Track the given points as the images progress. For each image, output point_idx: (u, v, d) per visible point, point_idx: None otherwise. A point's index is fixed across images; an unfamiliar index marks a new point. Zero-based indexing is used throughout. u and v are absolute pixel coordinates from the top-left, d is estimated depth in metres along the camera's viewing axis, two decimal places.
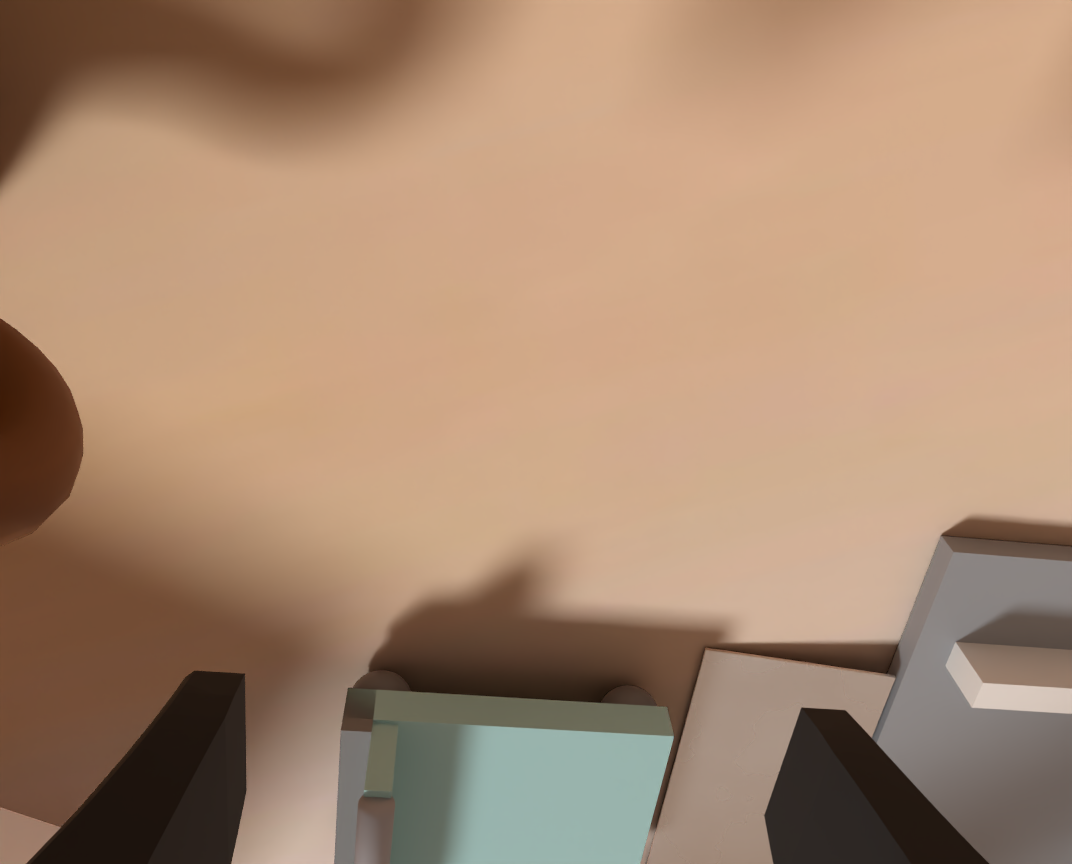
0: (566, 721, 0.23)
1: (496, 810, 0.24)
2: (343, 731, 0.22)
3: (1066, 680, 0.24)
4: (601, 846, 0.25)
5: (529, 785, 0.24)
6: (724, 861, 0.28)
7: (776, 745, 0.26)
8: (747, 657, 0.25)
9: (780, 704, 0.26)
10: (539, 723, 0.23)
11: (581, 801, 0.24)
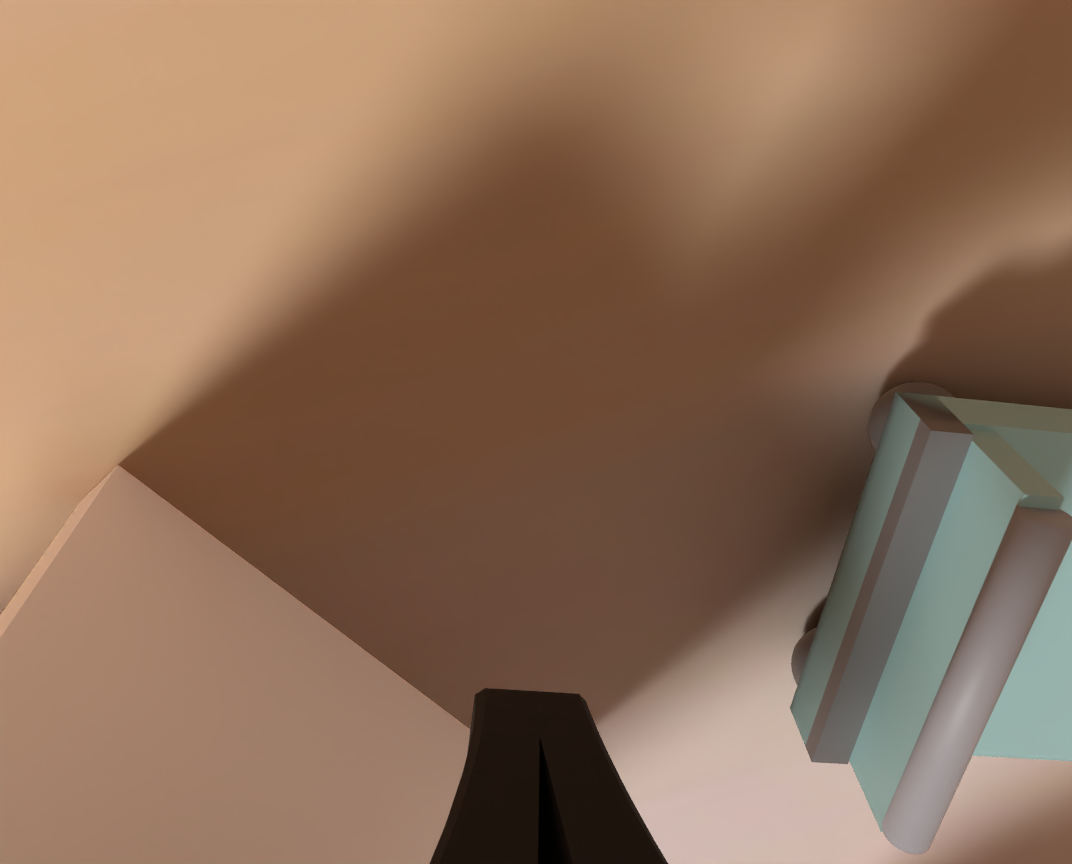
0: None
1: None
2: (933, 432, 0.15)
3: None
4: None
5: None
6: None
7: None
8: None
9: None
10: None
11: None
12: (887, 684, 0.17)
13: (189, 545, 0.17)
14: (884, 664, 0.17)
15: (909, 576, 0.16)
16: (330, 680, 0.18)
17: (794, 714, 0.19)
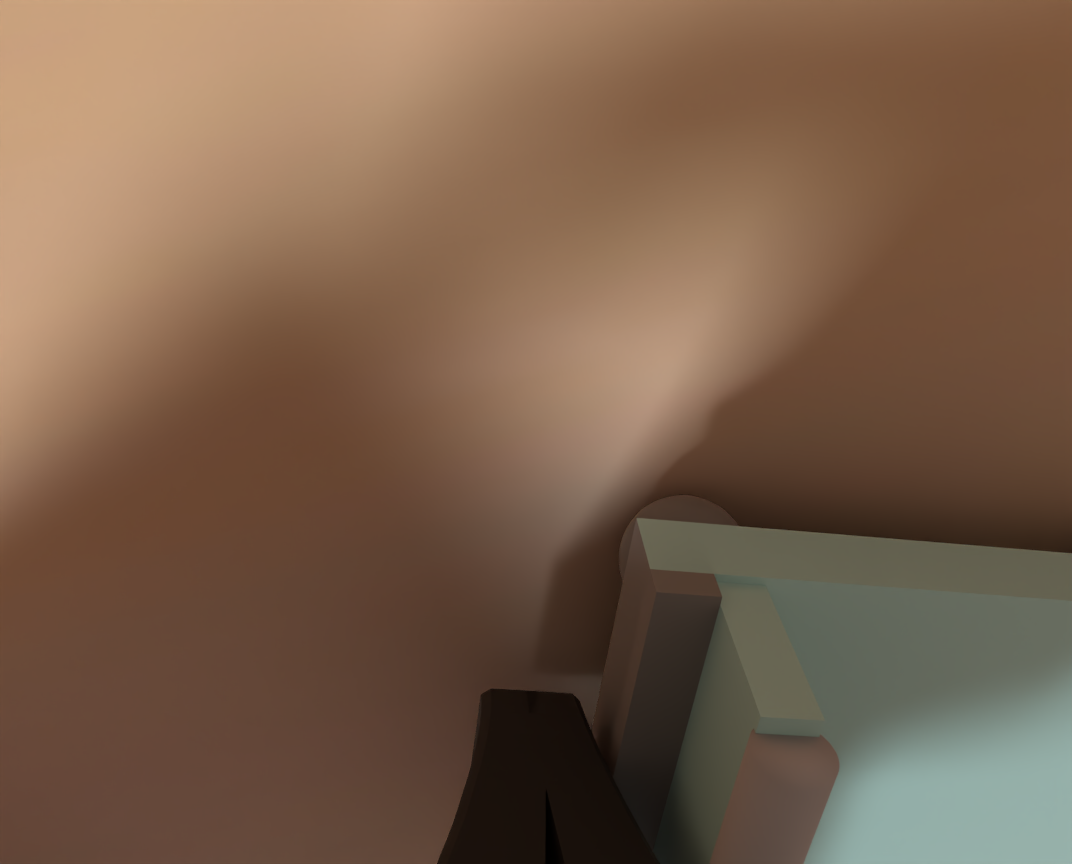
0: None
1: (917, 779, 0.12)
2: (661, 594, 0.10)
3: None
4: None
5: (998, 726, 0.12)
6: None
7: None
8: None
9: None
10: (1049, 590, 0.11)
11: None
12: None
13: None
14: None
15: (657, 781, 0.11)
16: None
17: None
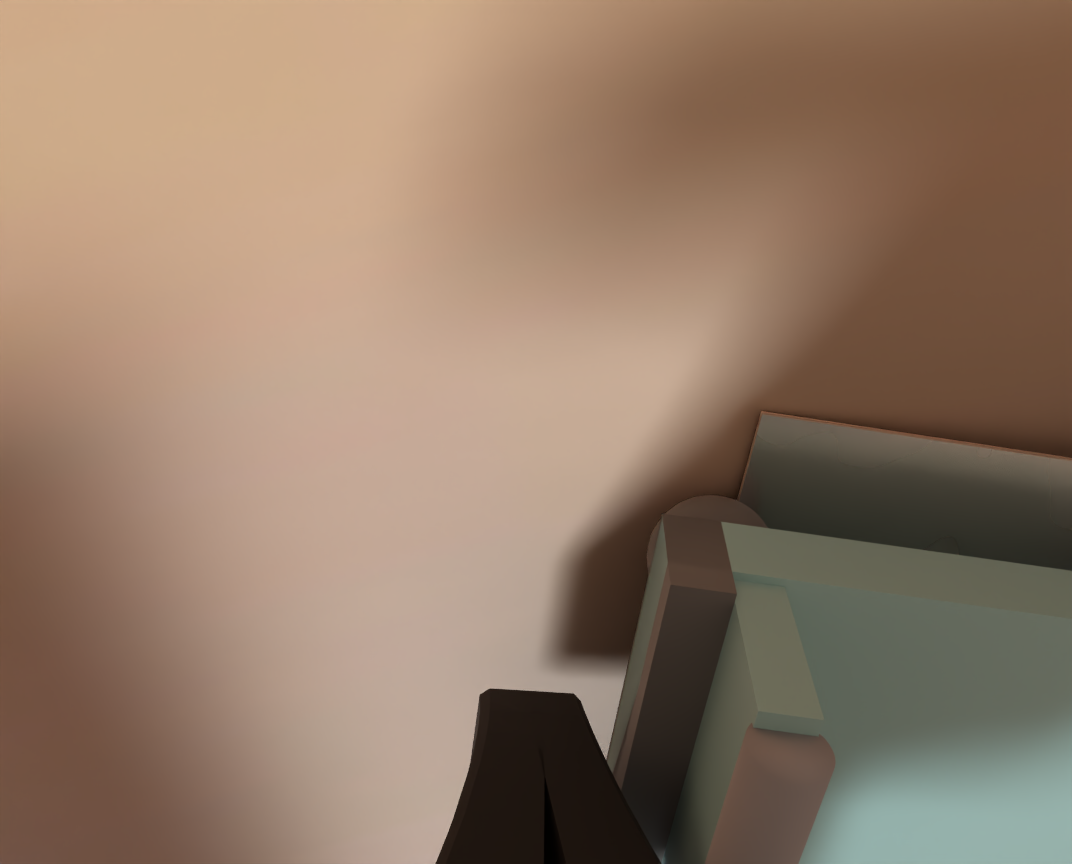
0: None
1: (943, 799, 0.12)
2: (675, 588, 0.10)
3: None
4: None
5: (1030, 751, 0.11)
6: None
7: None
8: (849, 430, 0.12)
9: (910, 541, 0.13)
10: None
11: None
12: None
13: None
14: None
15: (670, 776, 0.11)
16: None
17: None
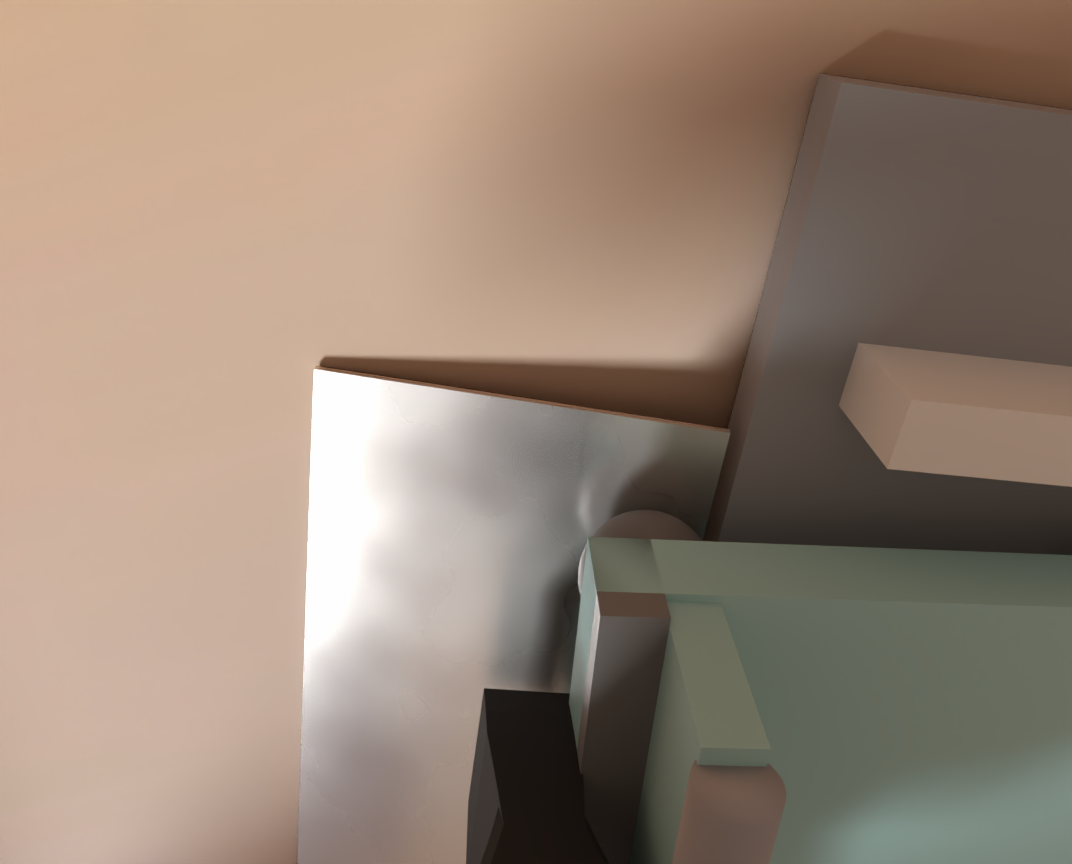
0: None
1: (904, 799, 0.11)
2: (606, 618, 0.09)
3: None
4: None
5: (986, 741, 0.11)
6: (438, 842, 0.15)
7: (499, 597, 0.13)
8: (404, 385, 0.11)
9: (497, 504, 0.12)
10: (1029, 596, 0.10)
11: None
12: None
13: None
14: None
15: (623, 810, 0.11)
16: None
17: None
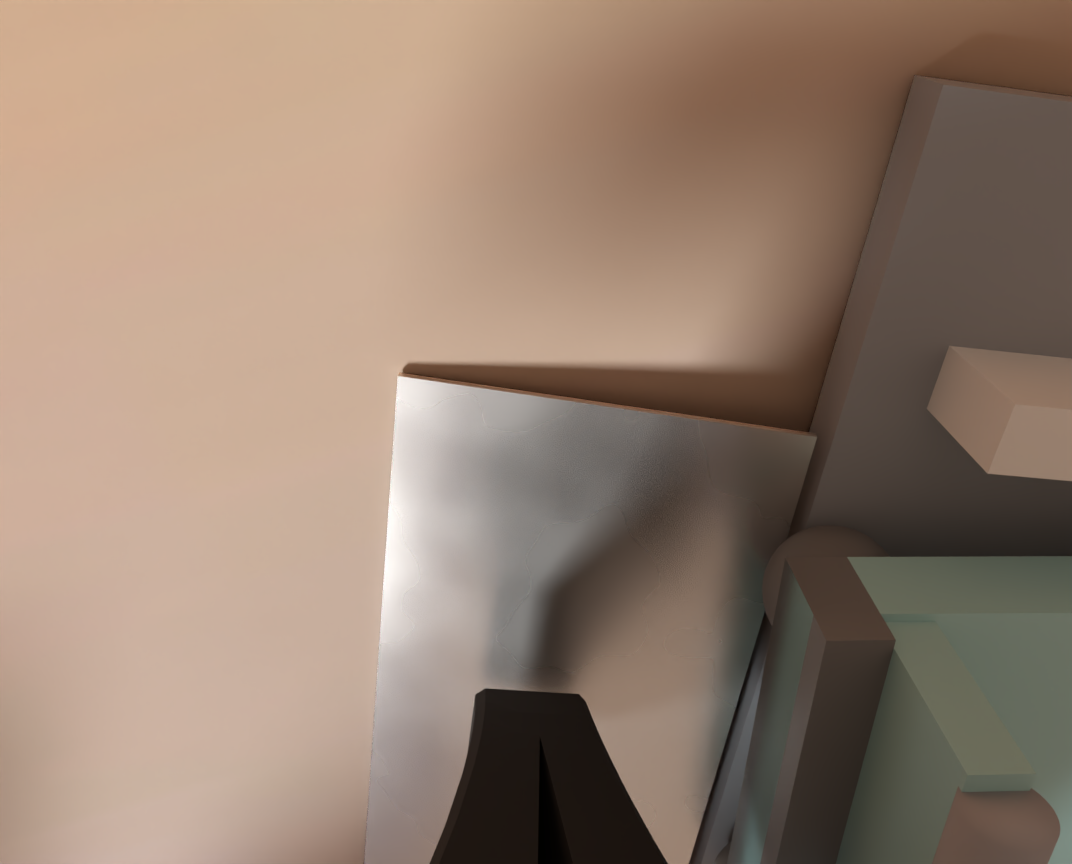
0: None
1: None
2: (831, 643, 0.09)
3: None
4: None
5: None
6: None
7: (577, 603, 0.13)
8: (489, 392, 0.11)
9: (577, 510, 0.12)
10: None
11: None
12: None
13: None
14: None
15: (829, 830, 0.11)
16: None
17: None
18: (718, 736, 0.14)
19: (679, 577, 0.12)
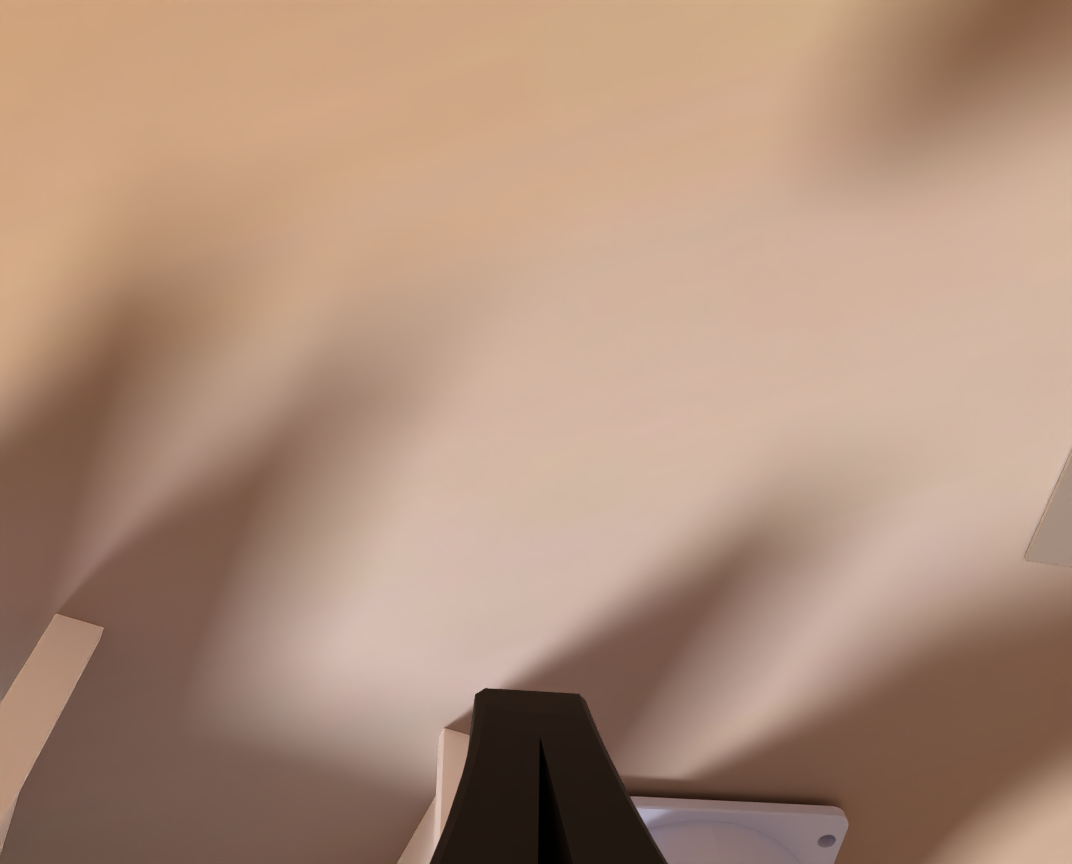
0: None
1: None
2: None
3: None
4: None
5: None
6: None
7: None
8: None
9: None
10: None
11: None
12: None
13: None
14: None
15: None
16: None
17: None
18: None
19: None
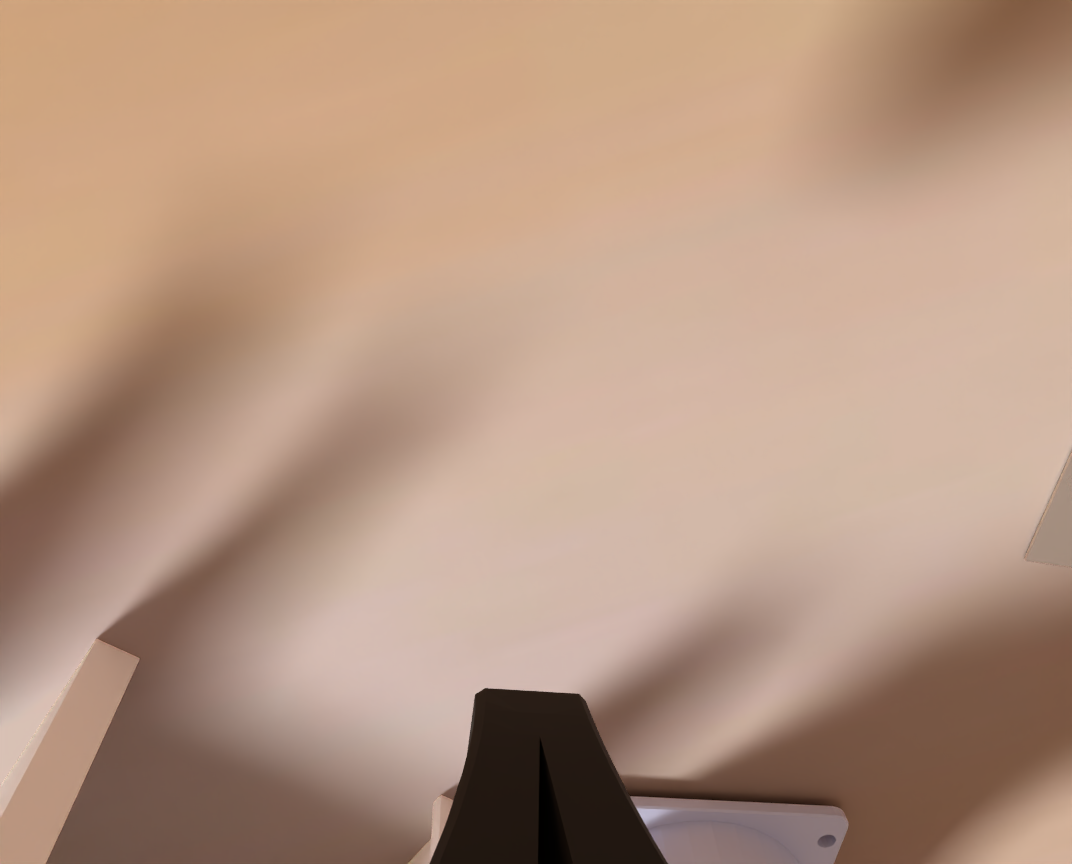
0: None
1: None
2: None
3: None
4: None
5: None
6: None
7: None
8: None
9: None
10: None
11: None
12: None
13: None
14: None
15: None
16: None
17: None
18: None
19: None
